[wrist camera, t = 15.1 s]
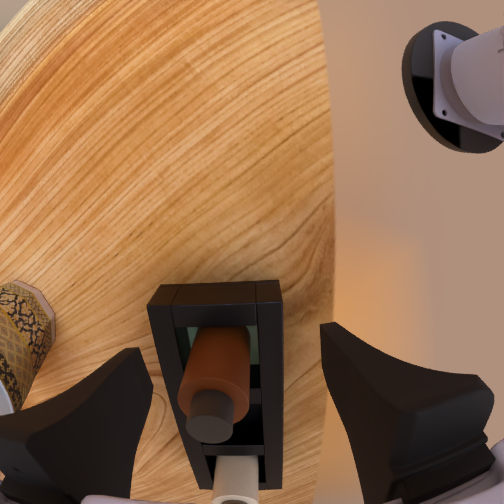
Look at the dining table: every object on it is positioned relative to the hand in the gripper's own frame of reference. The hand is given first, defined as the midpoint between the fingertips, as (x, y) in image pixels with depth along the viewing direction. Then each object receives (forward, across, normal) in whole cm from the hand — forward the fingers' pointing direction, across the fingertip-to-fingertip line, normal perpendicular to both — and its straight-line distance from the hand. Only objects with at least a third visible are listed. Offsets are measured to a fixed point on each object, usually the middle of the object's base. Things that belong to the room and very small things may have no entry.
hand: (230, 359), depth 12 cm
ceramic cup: (+12, +21, +2) cm, 24 cm away
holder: (+11, +2, +12) cm, 16 cm away
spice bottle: (+10, +2, +5) cm, 11 cm away
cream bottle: (+10, +3, +18) cm, 21 cm away
